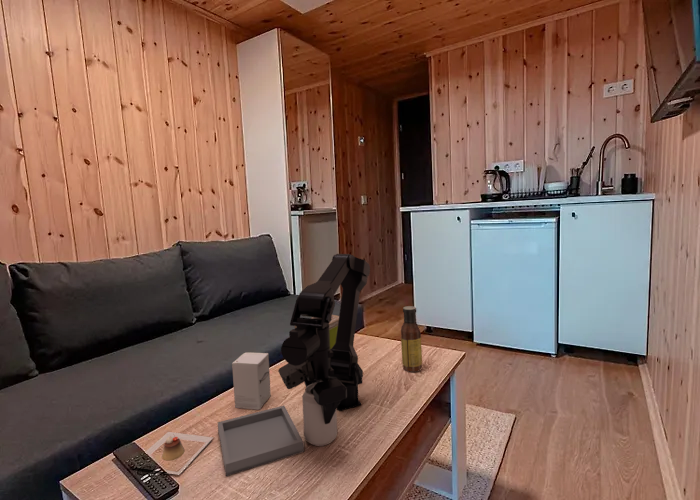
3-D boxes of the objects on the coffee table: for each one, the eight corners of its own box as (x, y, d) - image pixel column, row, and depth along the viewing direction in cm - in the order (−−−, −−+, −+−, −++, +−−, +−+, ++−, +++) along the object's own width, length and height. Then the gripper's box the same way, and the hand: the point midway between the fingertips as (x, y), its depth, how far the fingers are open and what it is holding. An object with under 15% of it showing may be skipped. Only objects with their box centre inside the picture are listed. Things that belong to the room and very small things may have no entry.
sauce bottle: (425, 366, 119) (424, 306, 117) (417, 374, 114) (417, 311, 112) (406, 362, 123) (405, 303, 120) (398, 370, 118) (397, 308, 115)
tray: (284, 414, 95) (284, 405, 94) (303, 451, 80) (303, 441, 80) (218, 432, 88) (217, 422, 88) (226, 476, 74) (225, 464, 73)
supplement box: (260, 410, 97) (257, 364, 95) (234, 408, 98) (230, 362, 97) (271, 396, 104) (269, 352, 103) (247, 394, 106) (244, 351, 104)
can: (304, 429, 88) (302, 381, 87) (336, 426, 89) (334, 378, 87) (303, 449, 81) (301, 397, 79) (338, 446, 82) (336, 395, 80)
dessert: (214, 441, 86) (212, 422, 85) (179, 479, 74) (177, 457, 73) (168, 435, 88) (166, 417, 88) (128, 471, 77) (125, 450, 76)
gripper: (271, 339, 87) (274, 402, 89) (293, 371, 71) (297, 447, 73) (316, 331, 92) (318, 391, 94) (347, 359, 75) (349, 431, 77)
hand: (319, 412), depth 84 cm, fingers open, 9 cm apart
